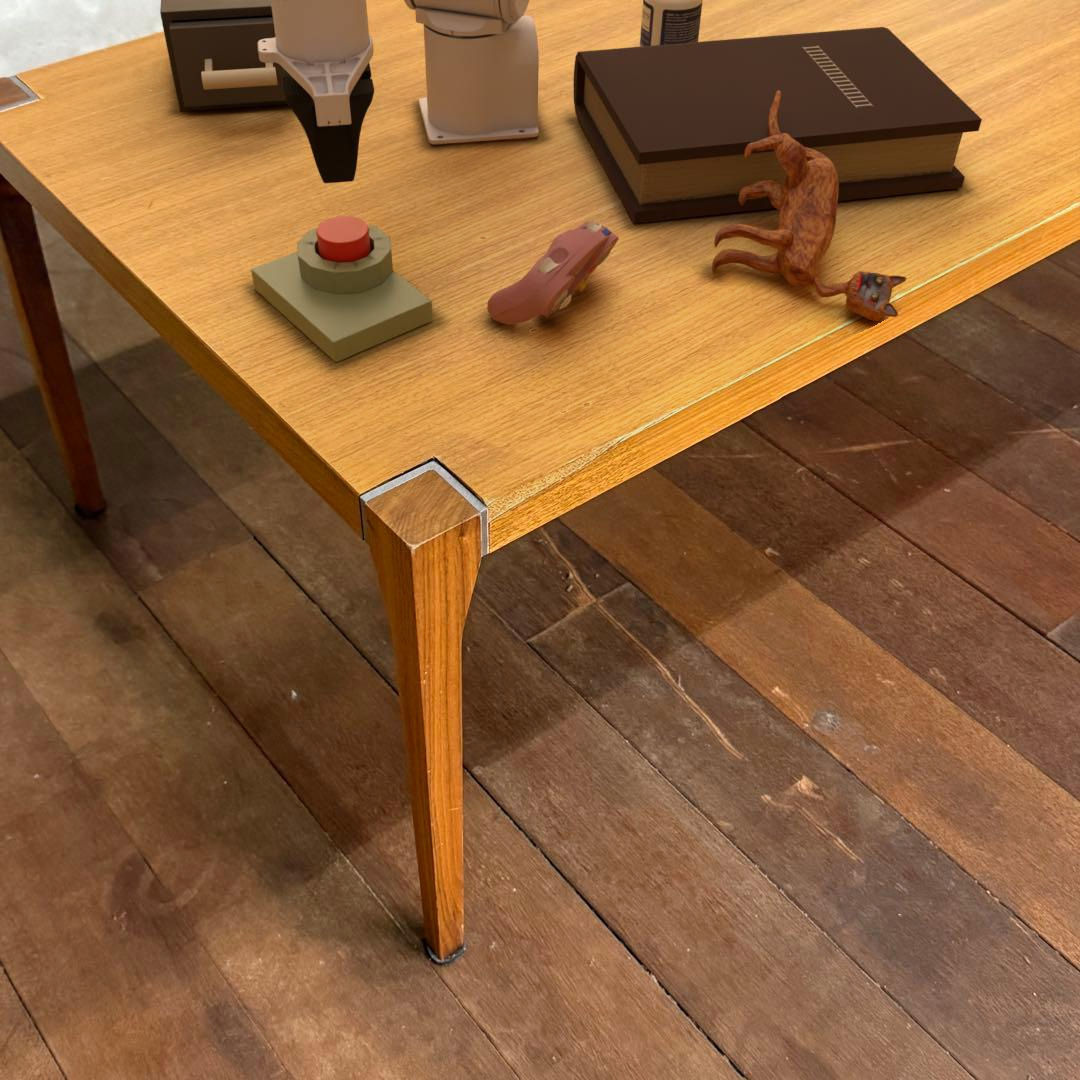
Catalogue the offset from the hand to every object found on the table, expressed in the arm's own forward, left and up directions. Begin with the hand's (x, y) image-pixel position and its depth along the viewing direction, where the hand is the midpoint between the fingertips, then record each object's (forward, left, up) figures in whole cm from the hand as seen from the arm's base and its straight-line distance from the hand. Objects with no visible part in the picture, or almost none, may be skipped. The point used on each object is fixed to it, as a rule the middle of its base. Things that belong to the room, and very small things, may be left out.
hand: (338, 177), depth 82 cm
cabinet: (+7, -36, -9) cm, 37 cm away
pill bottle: (-32, -32, -9) cm, 46 cm away
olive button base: (+1, +2, -9) cm, 9 cm away
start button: (0, 0, -6) cm, 6 cm away
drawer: (+7, -32, -8) cm, 33 cm away
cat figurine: (-29, -2, -4) cm, 29 cm away
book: (-36, -15, -9) cm, 40 cm away
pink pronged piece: (-14, +4, -9) cm, 17 cm away
